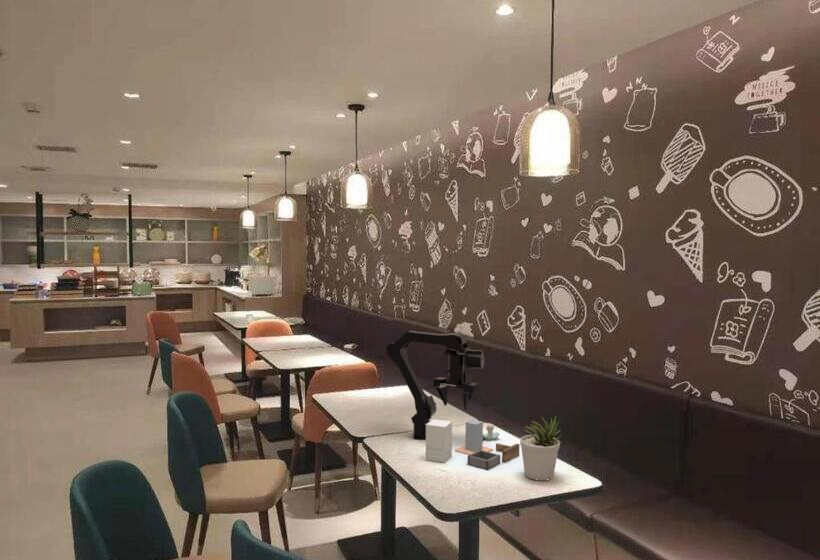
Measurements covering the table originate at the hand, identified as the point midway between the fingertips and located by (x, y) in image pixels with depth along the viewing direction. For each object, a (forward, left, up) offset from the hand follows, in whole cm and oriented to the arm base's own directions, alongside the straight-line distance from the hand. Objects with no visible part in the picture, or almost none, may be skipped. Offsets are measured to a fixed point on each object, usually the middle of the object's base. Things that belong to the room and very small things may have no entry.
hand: (455, 407), depth 223 cm
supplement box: (-9, -18, -13) cm, 24 cm away
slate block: (+5, -11, -12) cm, 17 cm away
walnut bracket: (+13, -17, -13) cm, 25 cm away
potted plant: (+21, -37, -13) cm, 45 cm away
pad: (+5, -11, -13) cm, 18 cm away
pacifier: (+14, +3, -13) cm, 19 cm away
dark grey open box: (+5, -24, -13) cm, 28 cm away
